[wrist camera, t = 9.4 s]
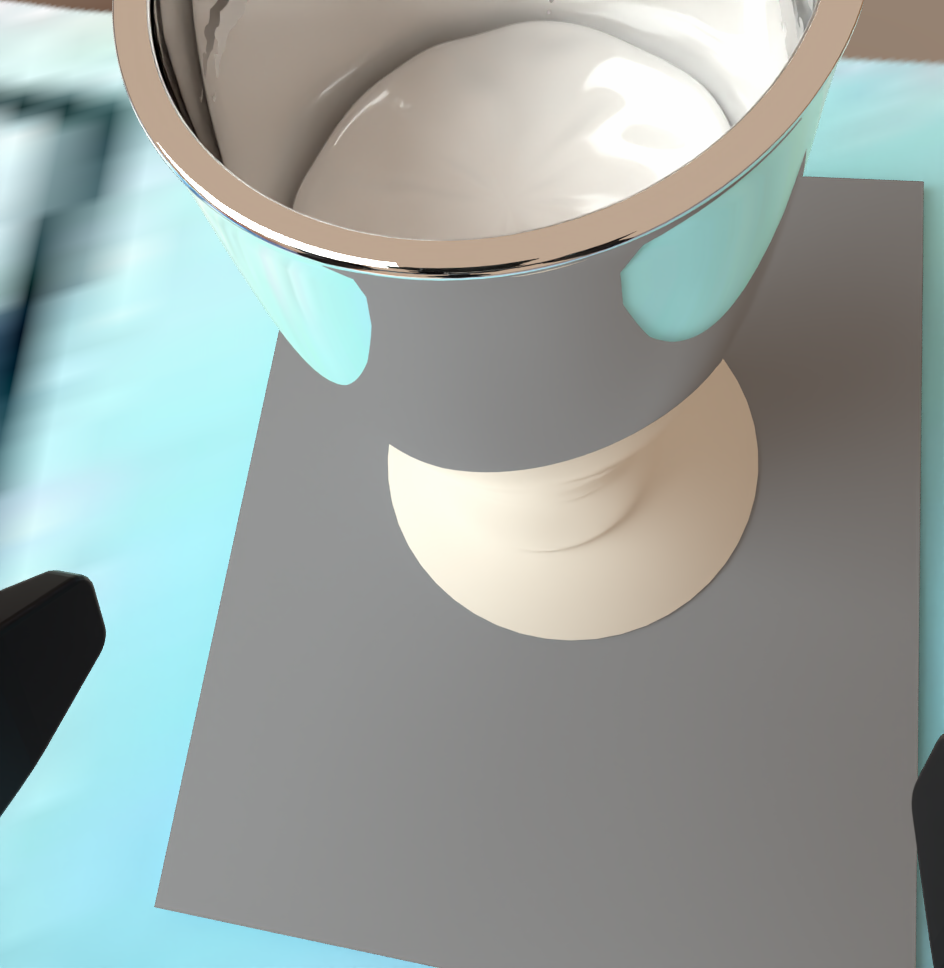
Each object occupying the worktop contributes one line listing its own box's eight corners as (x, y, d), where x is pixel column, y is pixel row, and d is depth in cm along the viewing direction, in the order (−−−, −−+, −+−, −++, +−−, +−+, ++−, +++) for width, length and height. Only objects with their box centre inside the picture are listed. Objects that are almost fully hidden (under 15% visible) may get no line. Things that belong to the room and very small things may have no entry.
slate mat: (906, 1060, 17) (916, 1071, 16) (162, 902, 20) (152, 908, 19) (917, 190, 22) (924, 179, 21) (321, 164, 25) (315, 154, 24)
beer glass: (726, 440, 20) (1108, -141, 6) (540, 625, 20) (451, 489, 5) (541, 280, 22) (481, -465, 8) (366, 445, 22) (-54, -22, 7)
